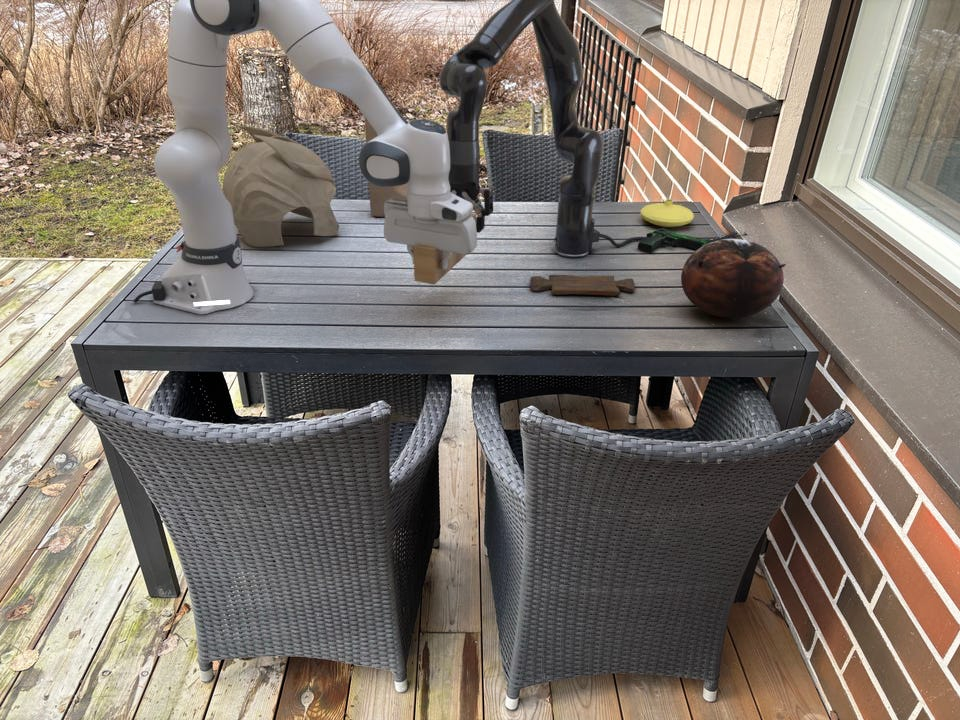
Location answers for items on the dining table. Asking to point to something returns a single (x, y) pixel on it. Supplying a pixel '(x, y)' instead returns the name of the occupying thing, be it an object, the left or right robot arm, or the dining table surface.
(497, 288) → the dining table surface
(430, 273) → the bar
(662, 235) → the handgun
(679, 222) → the yellow knobbed lid
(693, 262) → the brown coconut
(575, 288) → the dark wooden board
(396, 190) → the decorative block
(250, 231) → the helmet
